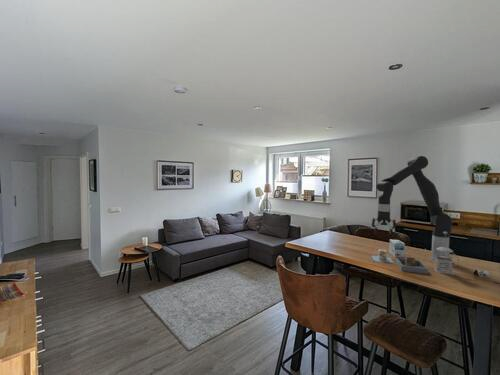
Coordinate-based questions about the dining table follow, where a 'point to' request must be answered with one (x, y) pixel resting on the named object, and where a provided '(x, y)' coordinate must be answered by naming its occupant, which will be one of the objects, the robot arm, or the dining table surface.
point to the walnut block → (409, 261)
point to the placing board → (388, 259)
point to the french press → (440, 260)
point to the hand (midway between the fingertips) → (383, 233)
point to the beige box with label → (382, 254)
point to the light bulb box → (397, 248)
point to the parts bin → (418, 266)
